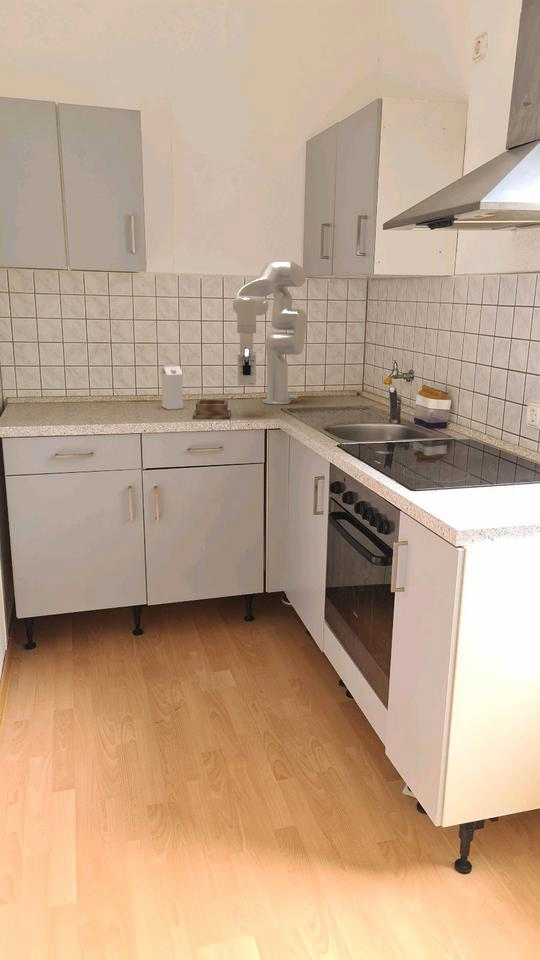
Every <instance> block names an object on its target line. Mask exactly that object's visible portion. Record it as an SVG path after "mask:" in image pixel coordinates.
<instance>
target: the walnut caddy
mask: <svg viewBox="0 0 540 960" xmlns="http://www.w3.org/2000/svg"><path fill="white" fill-rule="evenodd" d="M228 401H229V400H228V399H197V401H196V403H195V409H194V410H193V411H194V412H193V414H192V417H191V418H192V420H231V414H232V410H231V409H229V406H228V405H229V404H228V403H229V402H228Z"/></svg>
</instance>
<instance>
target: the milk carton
mask: <svg viewBox="0 0 540 960" xmlns="http://www.w3.org/2000/svg"><path fill="white" fill-rule="evenodd" d="M160 377H161V403H162V404H161V405H162V406H161V407H162V408H163V409H166V410H179V409H184V382H183V379H184V378H183V371H182V368H181V364H180V363H170V364H169V363H166V364H163V367H162V370H161V374H160Z"/></svg>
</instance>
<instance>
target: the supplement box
mask: <svg viewBox="0 0 540 960" xmlns="http://www.w3.org/2000/svg"><path fill="white" fill-rule="evenodd" d="M249 356H250V354H248V357H249ZM244 357H245V354H244ZM250 365H251V375H243V357H241V358H240V351H239V352H237V385H238V386H256V385H257V352H255V351H252V358H251V359H250Z"/></svg>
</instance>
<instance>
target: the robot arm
mask: <svg viewBox="0 0 540 960" xmlns="http://www.w3.org/2000/svg"><path fill="white" fill-rule="evenodd" d="M306 275H307V273H306V270H305V269H304V268H303V267H302V266H301V265H299V264H298V263H297V262H295V261H293V260H270V261H268V262H266V263H265V265H264V266H263V267H262V270H261V271H260V273H259V275H258V276H257V278H256V279H255V280H253V281H250V282H249V283H247V284H244V285H243V286H242V287H240V288H239V290H238V291H237V293H236V295H235V296H234V299H233V301H232V309H233V311H234V313H236V319H237V320H236V330H237V331H236V332H237V334H239V352H240V358H241V357H243V375H251V365H250V359H251V358H252V352H254V351H253V350H254V334H256V333H257V316H263V315H265V314H266V313H267V312H268V310H269V301H268V299H267V298H265V297H267V296H270V295H271V294H272V296H273V303H272V311H271V319H270V320H271V327H272V328H273V329H274V330H277V331H276V332H270V333H268V334H267V335H266V337H265V340H264V344H265V350H266V351H265V353H266V398H265V399H263V401H262V402H263V404H267V405H277V406H278V405H289V404H291V402H292V401H291V400H298V394H290V393H289V391H288V389H289V387H288V386H289V384H288V383H289V381H288V380H289V378H288V377H289V364H288V361H287V358H286V357H285V356H284V355H293V356H295V355H296V356H298V355H301V354H302V353H303V351H304V347H305V342H306V341H305V340H306V332H307V323H308V322H307V321H308V320H307V314H306V312H305V310H303V309H301V308H293V296H292V294H291V292H290V290H289V289H287V288H299V287H303V285H304V284H305V282H306V280H307V278H306V277H307V276H306ZM279 331H293V332H279ZM244 354H245V357H244ZM248 354H250V356H249V357H248Z"/></svg>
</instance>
